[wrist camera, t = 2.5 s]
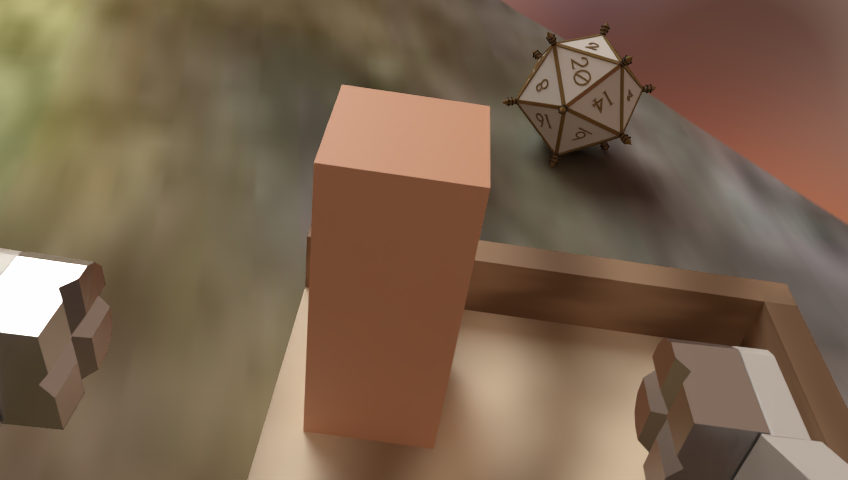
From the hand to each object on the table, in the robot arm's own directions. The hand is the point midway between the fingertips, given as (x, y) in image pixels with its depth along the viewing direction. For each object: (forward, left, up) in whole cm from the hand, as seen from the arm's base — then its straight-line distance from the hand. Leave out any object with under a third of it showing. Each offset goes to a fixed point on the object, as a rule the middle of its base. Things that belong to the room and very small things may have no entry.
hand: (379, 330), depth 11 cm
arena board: (+7, +12, -17) cm, 22 cm away
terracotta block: (0, +12, -16) cm, 20 cm away
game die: (+10, +36, -17) cm, 41 cm away
